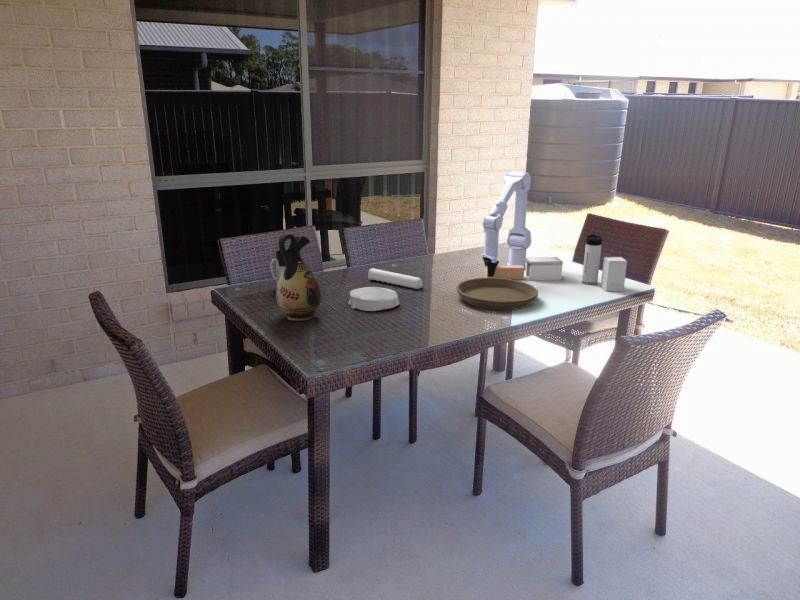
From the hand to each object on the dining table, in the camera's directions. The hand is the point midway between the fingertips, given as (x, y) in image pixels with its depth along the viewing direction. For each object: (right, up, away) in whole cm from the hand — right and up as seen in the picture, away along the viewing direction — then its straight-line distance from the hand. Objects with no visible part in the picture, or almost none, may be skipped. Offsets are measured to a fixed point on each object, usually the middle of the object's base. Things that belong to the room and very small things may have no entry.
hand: (489, 274), depth 260 cm
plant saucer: (-1, -11, -27) cm, 29 cm away
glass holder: (-85, -7, -17) cm, 87 cm away
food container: (-48, -12, -33) cm, 60 cm away
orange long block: (+6, -1, +1) cm, 7 cm away
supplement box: (+48, -6, -14) cm, 50 cm away
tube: (-40, -5, -9) cm, 41 cm away
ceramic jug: (-74, -17, -49) cm, 91 cm away
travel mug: (+41, -4, -5) cm, 42 cm away
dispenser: (+23, -1, +2) cm, 23 cm away
